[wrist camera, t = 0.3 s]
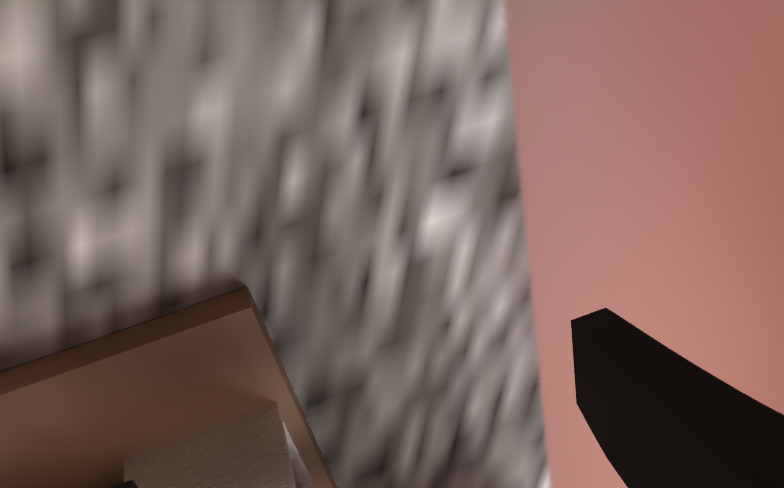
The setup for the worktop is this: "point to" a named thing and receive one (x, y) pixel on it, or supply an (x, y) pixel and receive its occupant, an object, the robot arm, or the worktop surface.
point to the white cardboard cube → (226, 457)
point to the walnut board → (143, 396)
